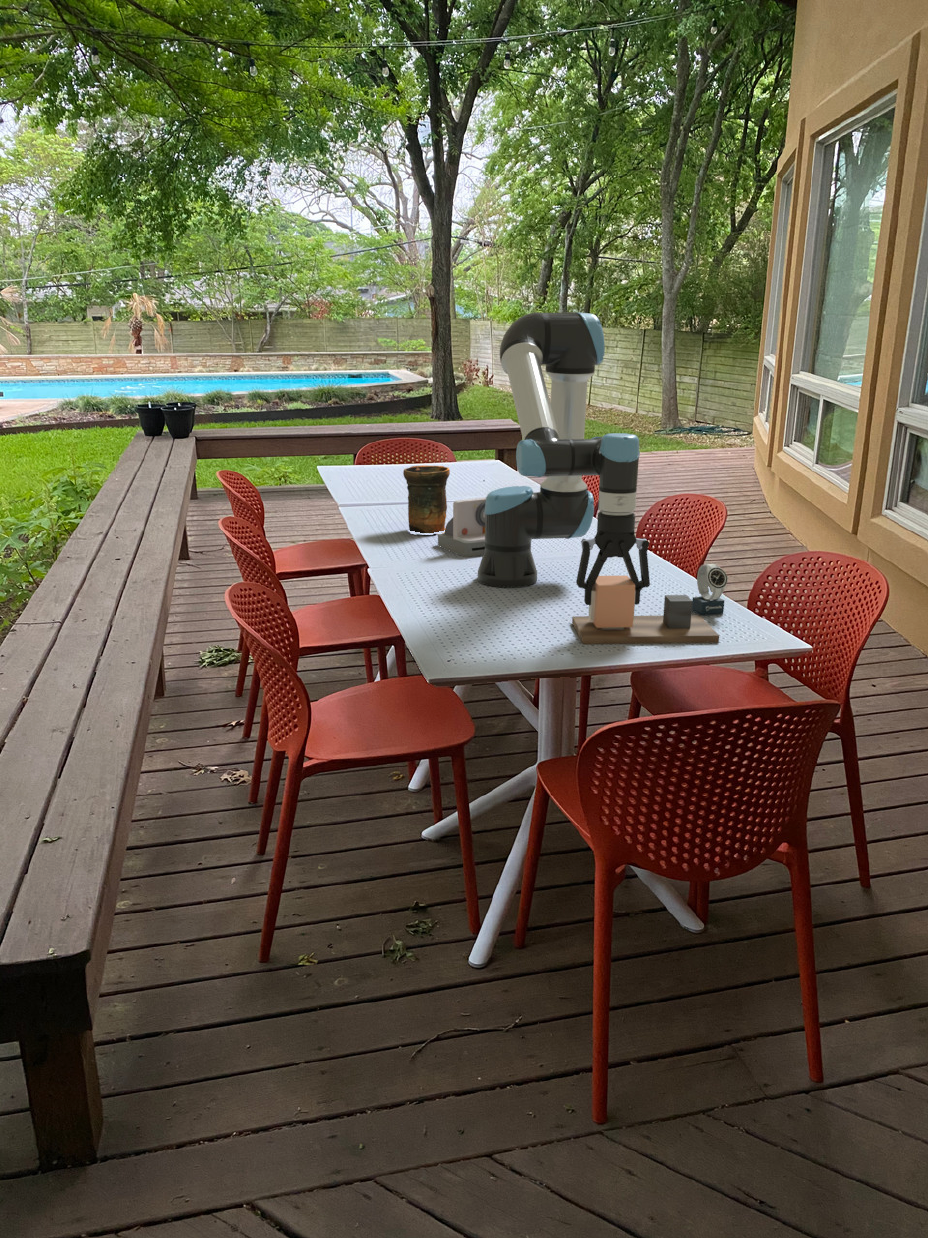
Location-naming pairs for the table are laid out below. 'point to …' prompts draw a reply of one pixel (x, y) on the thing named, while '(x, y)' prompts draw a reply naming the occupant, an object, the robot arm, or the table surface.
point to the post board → (652, 627)
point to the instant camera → (465, 528)
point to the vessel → (426, 497)
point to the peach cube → (614, 601)
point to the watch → (716, 582)
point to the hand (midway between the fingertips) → (611, 619)
